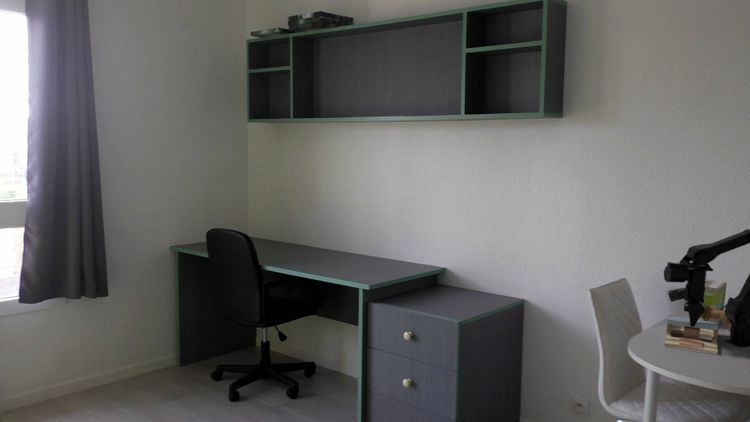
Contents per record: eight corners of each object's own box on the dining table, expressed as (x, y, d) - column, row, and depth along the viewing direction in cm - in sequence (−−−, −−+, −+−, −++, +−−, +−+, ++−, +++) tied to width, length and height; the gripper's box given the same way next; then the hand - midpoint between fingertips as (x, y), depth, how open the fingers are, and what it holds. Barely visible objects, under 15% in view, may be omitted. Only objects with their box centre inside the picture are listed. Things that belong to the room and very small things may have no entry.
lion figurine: (693, 326, 244) (695, 303, 243) (691, 322, 249) (693, 300, 248) (737, 331, 239) (739, 307, 238) (734, 327, 244) (736, 304, 243)
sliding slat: (717, 330, 222) (718, 326, 222) (667, 323, 229) (667, 319, 229) (717, 327, 226) (718, 322, 226) (667, 320, 233) (668, 315, 233)
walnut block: (698, 342, 225) (699, 330, 224) (683, 340, 227) (684, 327, 227) (698, 338, 229) (699, 326, 229) (683, 336, 232) (684, 324, 231)
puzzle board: (717, 354, 212) (718, 341, 212) (664, 346, 219) (665, 333, 219) (715, 334, 235) (716, 321, 234) (667, 327, 242) (668, 314, 241)
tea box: (716, 326, 245) (720, 288, 243) (688, 320, 251) (691, 283, 249) (723, 317, 257) (727, 281, 255) (696, 312, 263) (699, 277, 261)
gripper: (671, 274, 234) (668, 316, 236) (669, 285, 218) (665, 330, 220) (705, 278, 229) (701, 321, 231) (706, 289, 213) (702, 335, 215)
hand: (692, 326), depth 224 cm, fingers closed
